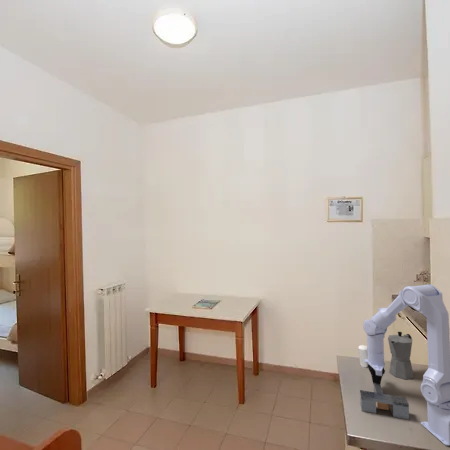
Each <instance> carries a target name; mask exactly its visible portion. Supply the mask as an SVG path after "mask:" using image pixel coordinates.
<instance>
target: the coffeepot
mask: <svg viewBox="0 0 450 450" xmlns="http://www.w3.org/2000/svg"><path fill="white" fill-rule="evenodd" d="M387 341H388V345H389V350H390V354H391V359H390V364H389V365H390V366H389V372H388V373H389V374H390V375H392V376H393V377H396V378H397V379H402V380H411V379H414V371H413V366H412V362H411V354H412V353H411V352H412V345H413V338H412V336H411V334H409V333H407V334H403V332H402V331H397V334H391V335H388V336H387Z"/></svg>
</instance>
